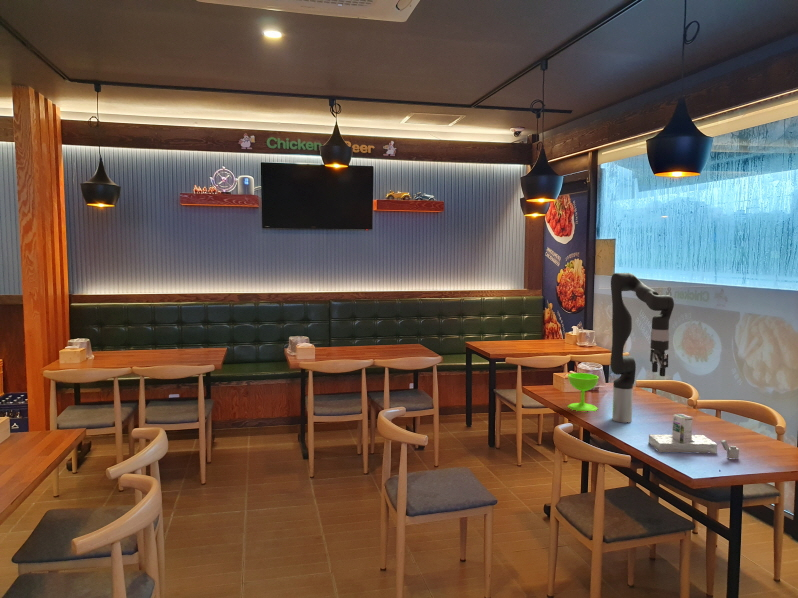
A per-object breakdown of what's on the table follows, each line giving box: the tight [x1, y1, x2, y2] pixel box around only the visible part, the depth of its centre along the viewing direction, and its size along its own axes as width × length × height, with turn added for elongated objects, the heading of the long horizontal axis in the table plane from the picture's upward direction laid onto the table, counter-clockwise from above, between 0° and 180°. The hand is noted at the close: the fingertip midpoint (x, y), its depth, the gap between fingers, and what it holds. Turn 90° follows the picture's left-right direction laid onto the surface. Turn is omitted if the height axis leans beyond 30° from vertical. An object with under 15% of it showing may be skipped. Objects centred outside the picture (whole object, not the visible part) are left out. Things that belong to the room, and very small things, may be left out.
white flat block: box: [648, 434, 718, 454], centre depth 249 cm, size 12×24×4 cm, turn 87°
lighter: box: [720, 439, 740, 459], centre depth 236 cm, size 7×2×8 cm, turn 93°
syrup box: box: [671, 413, 694, 442], centre depth 249 cm, size 6×6×14 cm
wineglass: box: [567, 372, 599, 412], centre depth 312 cm, size 16×16×18 cm
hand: (658, 374), depth 260 cm, fingers open, 8 cm apart
